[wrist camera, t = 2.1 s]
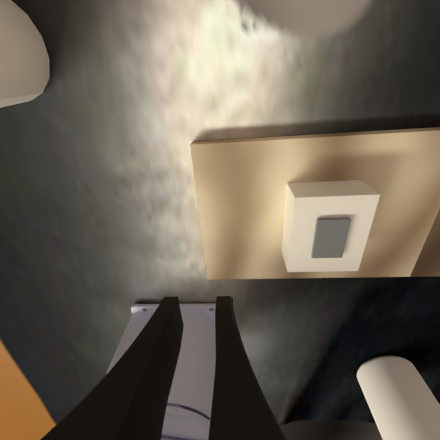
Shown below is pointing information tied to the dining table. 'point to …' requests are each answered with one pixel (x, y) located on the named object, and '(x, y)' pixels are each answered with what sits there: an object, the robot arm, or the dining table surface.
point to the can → (399, 399)
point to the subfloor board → (318, 172)
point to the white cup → (20, 57)
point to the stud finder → (327, 225)
